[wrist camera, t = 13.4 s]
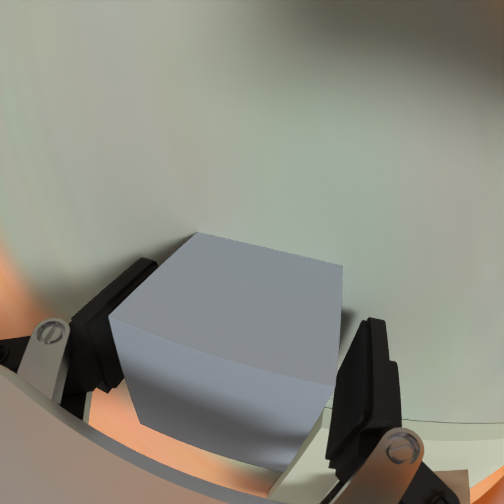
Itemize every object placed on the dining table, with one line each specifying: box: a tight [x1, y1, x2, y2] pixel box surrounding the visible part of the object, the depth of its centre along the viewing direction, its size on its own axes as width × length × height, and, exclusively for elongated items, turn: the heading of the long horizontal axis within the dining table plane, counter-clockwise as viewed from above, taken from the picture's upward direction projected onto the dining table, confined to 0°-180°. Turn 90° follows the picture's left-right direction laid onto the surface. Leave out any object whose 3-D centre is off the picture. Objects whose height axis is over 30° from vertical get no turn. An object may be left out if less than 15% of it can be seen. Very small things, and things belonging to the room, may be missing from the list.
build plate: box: [267, 408, 504, 504], centre depth 14 cm, size 16×16×1 cm
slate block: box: [108, 232, 343, 472], centre depth 9 cm, size 5×5×5 cm
